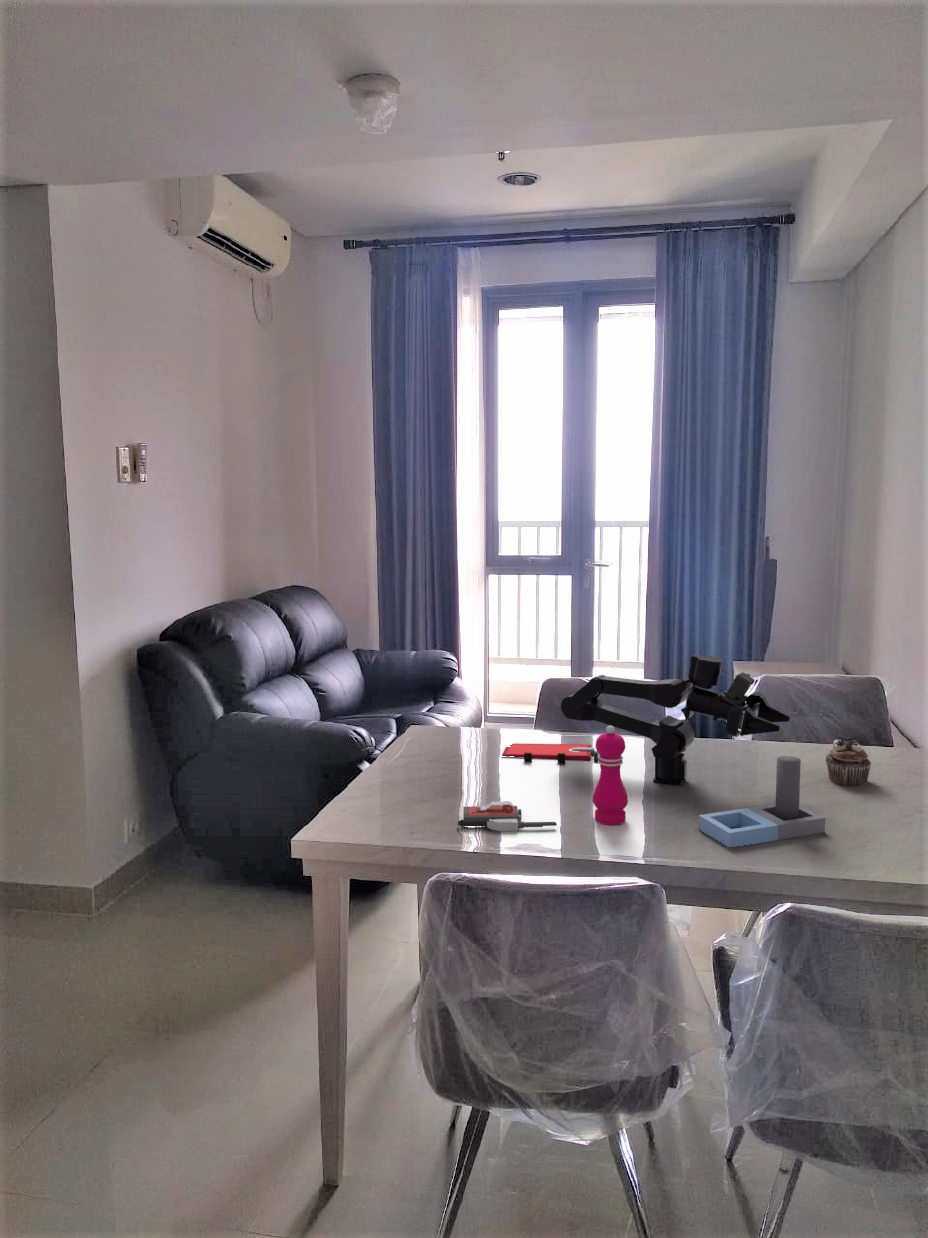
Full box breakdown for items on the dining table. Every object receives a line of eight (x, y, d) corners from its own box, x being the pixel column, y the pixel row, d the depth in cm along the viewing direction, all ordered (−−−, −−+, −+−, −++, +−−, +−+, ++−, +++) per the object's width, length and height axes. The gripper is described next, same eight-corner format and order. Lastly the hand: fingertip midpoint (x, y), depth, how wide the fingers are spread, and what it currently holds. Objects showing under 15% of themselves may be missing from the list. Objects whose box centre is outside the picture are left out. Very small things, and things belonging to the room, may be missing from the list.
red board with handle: (620, 766, 216) (620, 750, 230) (620, 755, 215) (619, 739, 230) (500, 764, 221) (507, 748, 236) (500, 753, 221) (507, 738, 235)
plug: (773, 829, 173) (775, 761, 171) (776, 821, 177) (778, 755, 175) (797, 832, 171) (799, 763, 169) (799, 824, 175) (801, 757, 173)
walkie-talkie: (457, 834, 174) (557, 832, 174) (457, 813, 174) (557, 811, 174) (458, 818, 183) (553, 817, 183) (457, 798, 182) (552, 796, 182)
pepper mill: (630, 815, 182) (630, 722, 179) (625, 827, 175) (625, 731, 172) (596, 812, 184) (596, 720, 181) (589, 824, 177) (589, 729, 175)
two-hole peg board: (728, 848, 164) (729, 833, 163) (698, 829, 173) (699, 815, 173) (824, 832, 171) (825, 817, 170) (790, 815, 180) (791, 801, 180)
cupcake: (875, 789, 195) (877, 745, 194) (829, 787, 197) (831, 744, 196) (864, 775, 204) (866, 734, 203) (821, 773, 206) (822, 733, 205)
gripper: (707, 678, 186) (781, 697, 178) (732, 663, 202) (801, 680, 194) (698, 726, 189) (771, 747, 181) (723, 708, 204) (791, 727, 196)
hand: (784, 723), depth 188 cm, fingers open, 9 cm apart
